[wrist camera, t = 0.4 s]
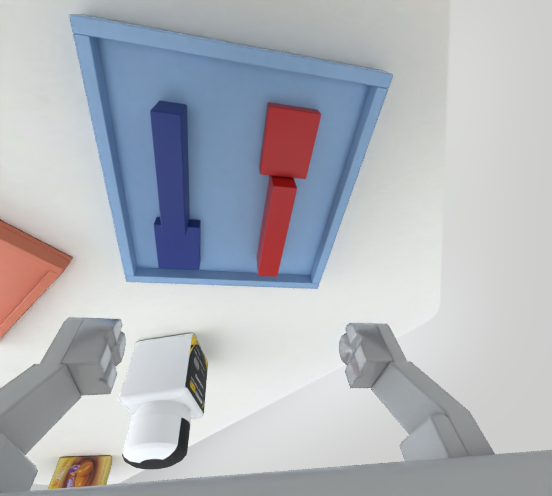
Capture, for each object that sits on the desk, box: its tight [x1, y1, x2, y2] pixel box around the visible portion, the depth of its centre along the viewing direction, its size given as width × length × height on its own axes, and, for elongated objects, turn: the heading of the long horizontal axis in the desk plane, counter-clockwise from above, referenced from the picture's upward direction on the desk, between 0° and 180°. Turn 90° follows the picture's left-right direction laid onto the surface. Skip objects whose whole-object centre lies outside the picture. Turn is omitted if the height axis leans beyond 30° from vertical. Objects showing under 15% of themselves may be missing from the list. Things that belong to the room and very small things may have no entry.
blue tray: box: [69, 14, 393, 289], centre depth 23 cm, size 20×19×2 cm
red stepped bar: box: [257, 102, 321, 277], centre depth 23 cm, size 14×4×3 cm, turn 171°
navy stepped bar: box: [150, 101, 201, 270], centre depth 22 cm, size 14×4×3 cm, turn 171°
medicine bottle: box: [119, 333, 208, 469], centre depth 33 cm, size 7×7×12 cm
